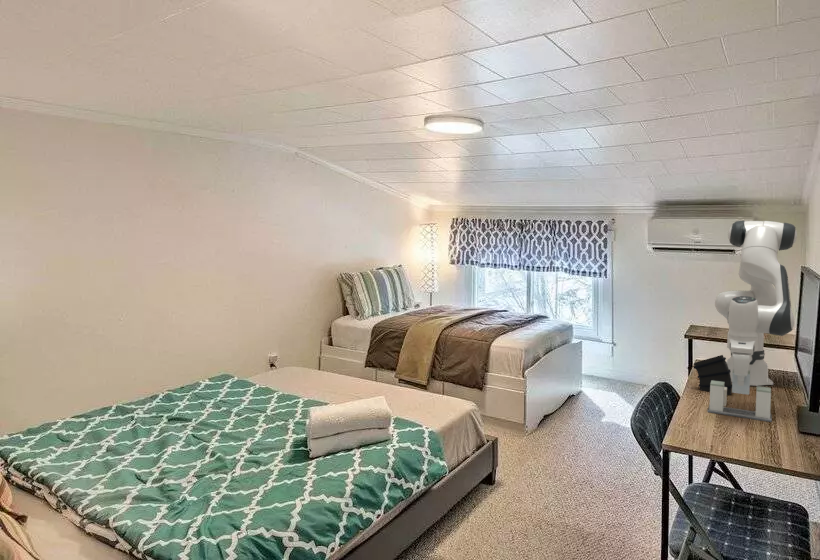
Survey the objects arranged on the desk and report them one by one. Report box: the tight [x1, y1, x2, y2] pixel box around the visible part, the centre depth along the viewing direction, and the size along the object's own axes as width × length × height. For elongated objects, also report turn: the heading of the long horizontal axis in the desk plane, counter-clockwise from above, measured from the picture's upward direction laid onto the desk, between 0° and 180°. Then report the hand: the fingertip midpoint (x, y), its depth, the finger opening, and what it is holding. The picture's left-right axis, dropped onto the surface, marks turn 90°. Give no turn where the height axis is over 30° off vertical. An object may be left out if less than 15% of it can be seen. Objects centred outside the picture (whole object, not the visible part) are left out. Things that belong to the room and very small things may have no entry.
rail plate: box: [707, 404, 773, 423], centre depth 178 cm, size 18×7×1 cm, turn 56°
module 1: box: [708, 380, 725, 411], centre depth 181 cm, size 4×5×10 cm
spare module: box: [724, 387, 728, 407], centre depth 190 cm, size 5×4×6 cm
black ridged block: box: [693, 354, 732, 396], centre depth 204 cm, size 4×13×15 cm, turn 49°
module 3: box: [755, 385, 772, 419], centre depth 174 cm, size 4×5×10 cm
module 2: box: [731, 369, 751, 395], centre depth 177 cm, size 5×4×8 cm
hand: (740, 383), depth 177 cm, fingers closed on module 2, 4 cm apart
